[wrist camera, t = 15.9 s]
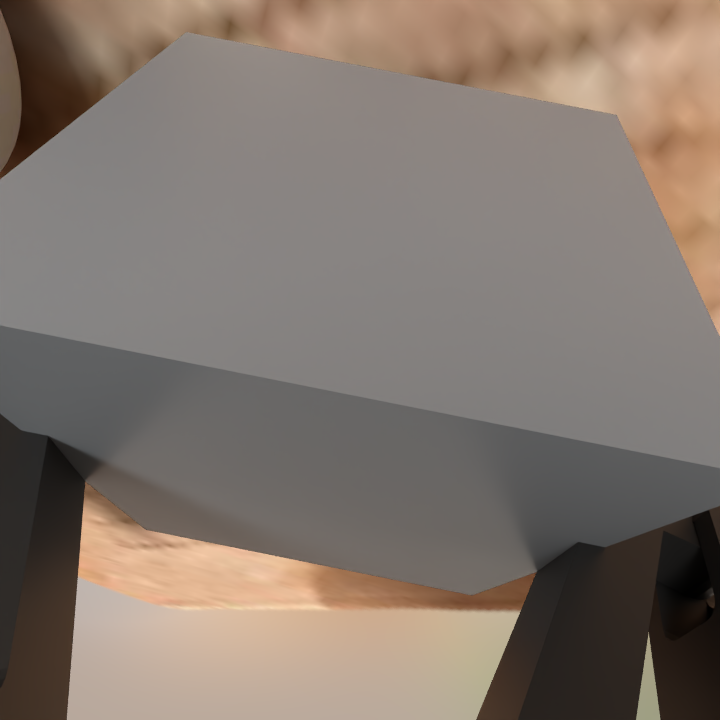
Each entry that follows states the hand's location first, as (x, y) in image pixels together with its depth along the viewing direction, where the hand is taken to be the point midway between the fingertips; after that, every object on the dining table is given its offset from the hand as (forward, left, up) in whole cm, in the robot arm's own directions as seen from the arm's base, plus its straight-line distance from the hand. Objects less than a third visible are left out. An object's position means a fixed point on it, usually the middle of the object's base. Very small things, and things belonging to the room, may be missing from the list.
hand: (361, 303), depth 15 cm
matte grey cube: (0, -2, 0) cm, 2 cm away
